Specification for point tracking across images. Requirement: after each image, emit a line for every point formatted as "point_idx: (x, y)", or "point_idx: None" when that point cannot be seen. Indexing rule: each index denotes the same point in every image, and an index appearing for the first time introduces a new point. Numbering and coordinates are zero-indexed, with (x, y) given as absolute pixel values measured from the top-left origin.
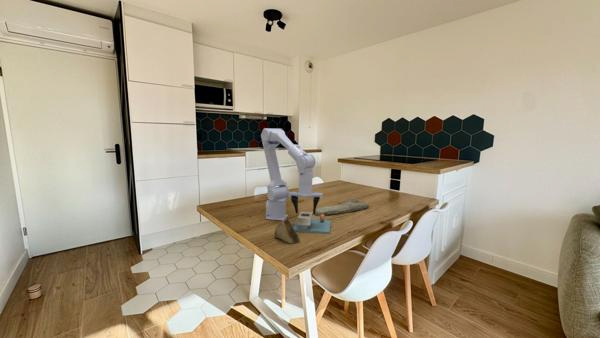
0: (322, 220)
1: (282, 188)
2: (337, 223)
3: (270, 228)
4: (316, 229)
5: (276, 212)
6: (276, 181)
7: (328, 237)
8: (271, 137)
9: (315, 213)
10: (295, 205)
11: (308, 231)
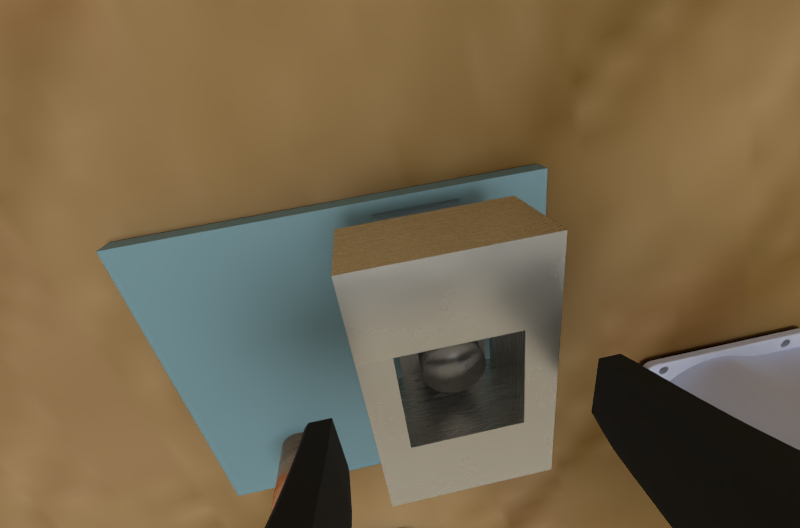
0: (291, 453)
1: None
2: (175, 480)
3: (766, 148)
4: (276, 261)
5: (781, 403)
6: None
7: (55, 131)
8: None
9: None
10: (790, 475)
11: (354, 199)
